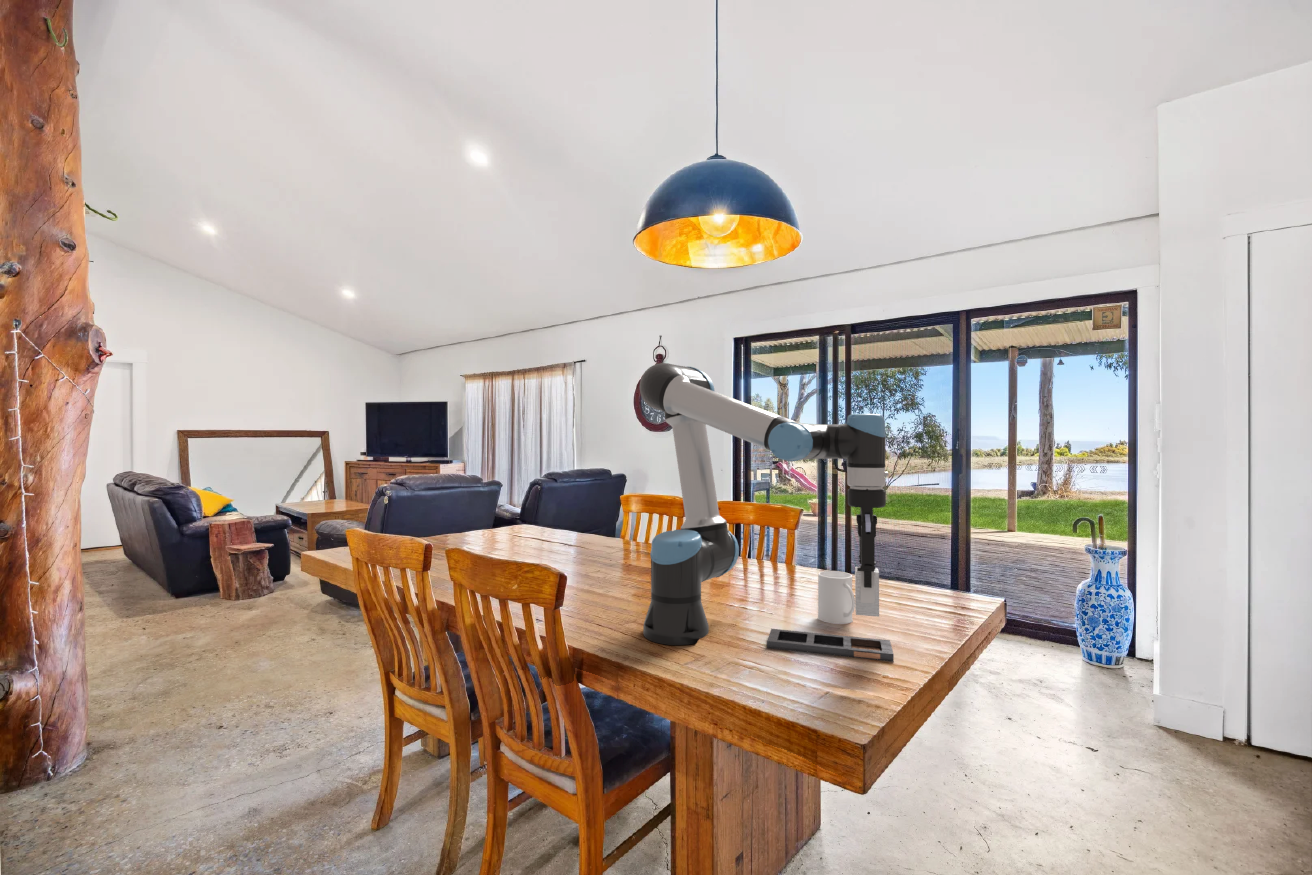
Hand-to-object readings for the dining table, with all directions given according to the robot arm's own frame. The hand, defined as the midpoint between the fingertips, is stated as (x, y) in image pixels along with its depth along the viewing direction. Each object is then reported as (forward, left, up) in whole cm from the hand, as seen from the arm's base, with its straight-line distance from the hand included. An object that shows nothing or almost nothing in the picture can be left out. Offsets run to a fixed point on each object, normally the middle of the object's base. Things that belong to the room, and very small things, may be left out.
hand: (866, 598), depth 122 cm
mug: (-6, +20, -12) cm, 24 cm away
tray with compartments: (-8, 0, -12) cm, 14 cm away
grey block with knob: (0, 0, -3) cm, 3 cm away
